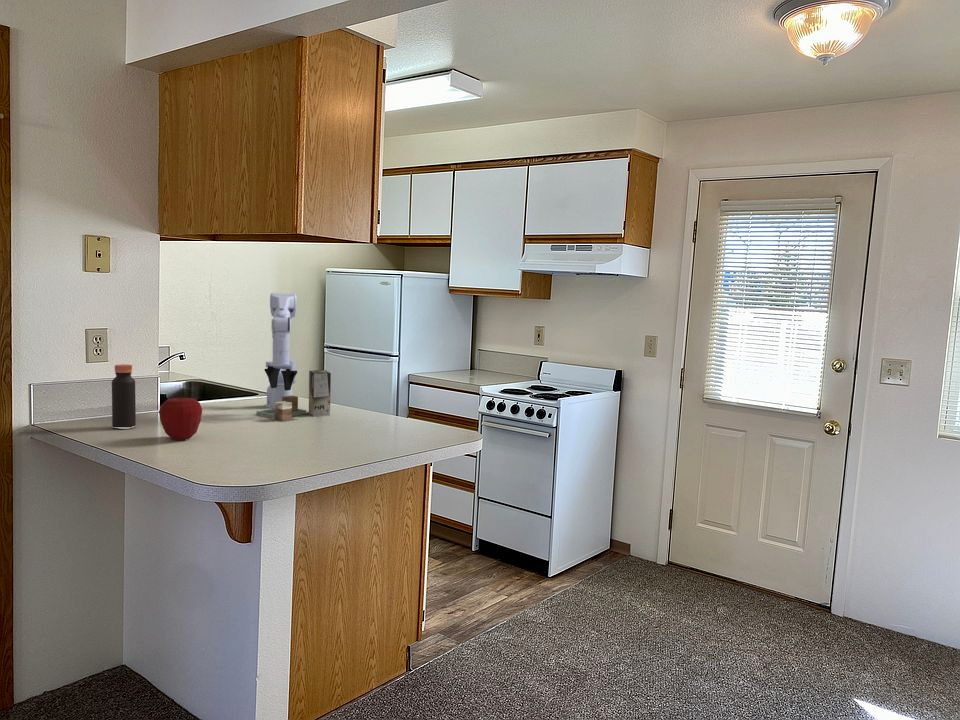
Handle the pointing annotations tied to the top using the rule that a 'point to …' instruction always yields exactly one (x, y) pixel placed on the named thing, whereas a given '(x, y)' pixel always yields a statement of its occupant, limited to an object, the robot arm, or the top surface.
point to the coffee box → (319, 392)
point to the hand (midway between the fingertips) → (280, 389)
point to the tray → (271, 413)
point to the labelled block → (283, 411)
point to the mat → (283, 421)
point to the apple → (180, 417)
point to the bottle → (123, 397)
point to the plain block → (294, 402)
